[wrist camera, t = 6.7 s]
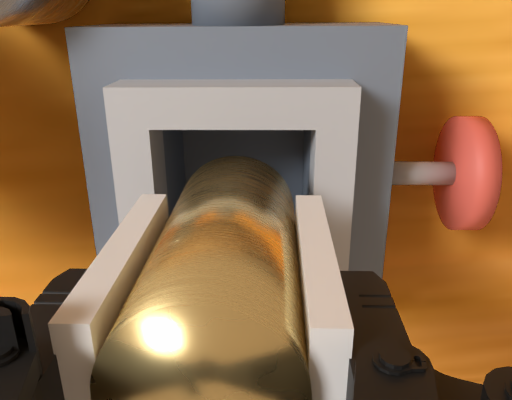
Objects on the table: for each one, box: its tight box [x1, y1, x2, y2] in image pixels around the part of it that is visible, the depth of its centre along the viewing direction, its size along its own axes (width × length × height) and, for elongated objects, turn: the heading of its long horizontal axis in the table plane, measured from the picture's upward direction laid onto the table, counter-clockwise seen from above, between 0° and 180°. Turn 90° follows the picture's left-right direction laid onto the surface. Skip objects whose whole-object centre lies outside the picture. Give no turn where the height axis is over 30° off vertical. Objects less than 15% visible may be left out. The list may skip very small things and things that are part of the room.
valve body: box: [64, 0, 502, 279], centre depth 20 cm, size 16×18×7 cm
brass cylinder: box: [90, 156, 312, 400], centre depth 13 cm, size 4×4×9 cm
